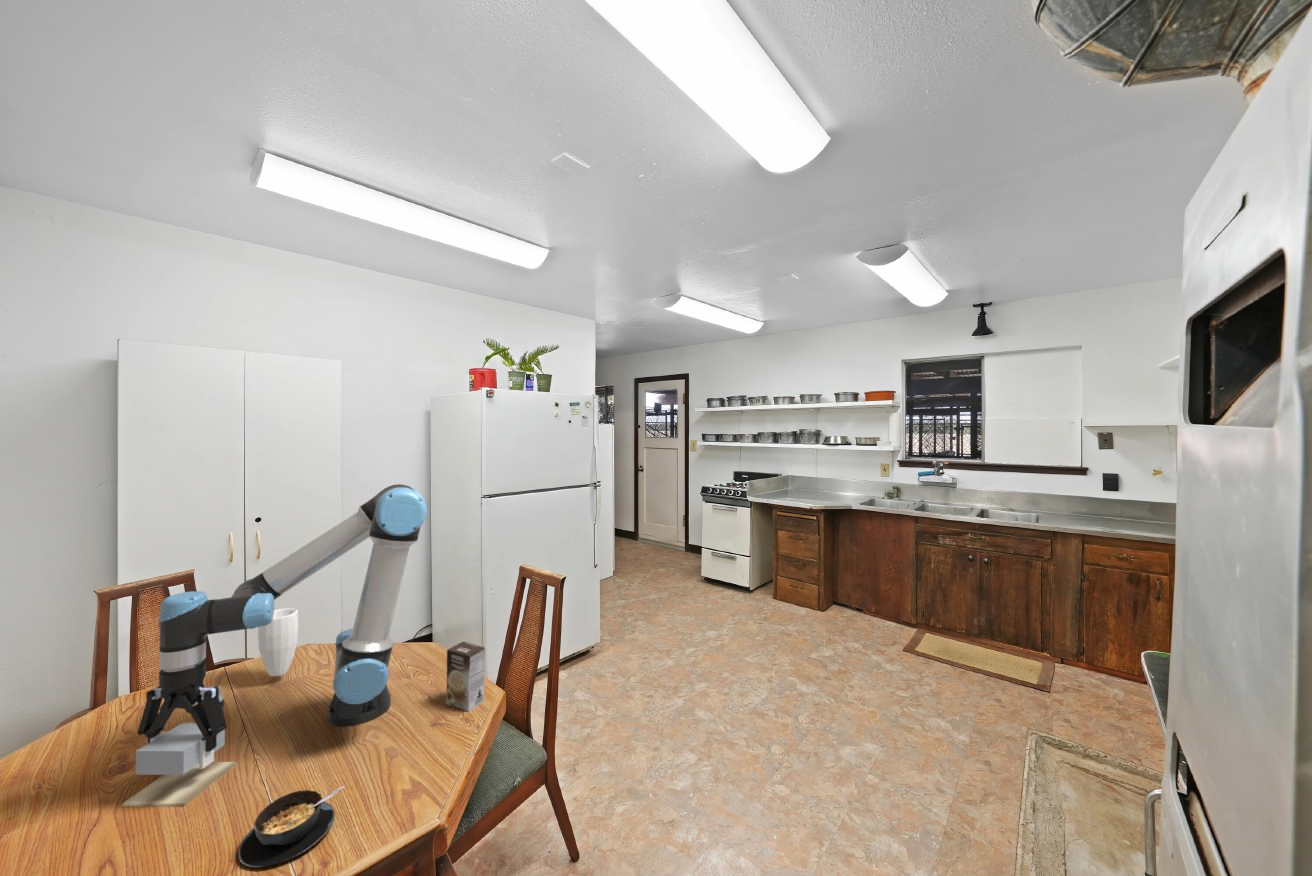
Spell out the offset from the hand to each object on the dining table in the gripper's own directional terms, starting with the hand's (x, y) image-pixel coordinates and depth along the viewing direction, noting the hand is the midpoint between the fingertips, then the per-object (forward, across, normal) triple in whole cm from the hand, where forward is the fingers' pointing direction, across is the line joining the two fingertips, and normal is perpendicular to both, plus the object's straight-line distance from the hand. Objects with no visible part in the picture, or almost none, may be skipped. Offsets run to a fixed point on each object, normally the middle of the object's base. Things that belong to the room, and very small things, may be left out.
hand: (182, 764), depth 109 cm
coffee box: (+4, -50, -33) cm, 60 cm away
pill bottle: (+5, +13, -21) cm, 25 cm away
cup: (+5, +13, -45) cm, 47 cm away
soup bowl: (+5, -34, +14) cm, 38 cm away
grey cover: (-1, 0, 0) cm, 1 cm away
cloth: (+4, 0, 0) cm, 4 cm away
